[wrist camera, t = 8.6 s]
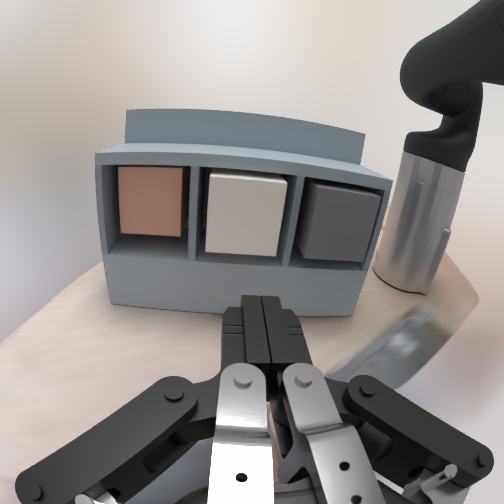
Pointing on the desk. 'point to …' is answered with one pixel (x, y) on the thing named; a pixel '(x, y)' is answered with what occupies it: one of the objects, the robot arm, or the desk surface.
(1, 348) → the desk surface
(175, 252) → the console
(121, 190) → the terracotta key
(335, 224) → the charcoal key
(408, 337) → the desk surface
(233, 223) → the cream key
